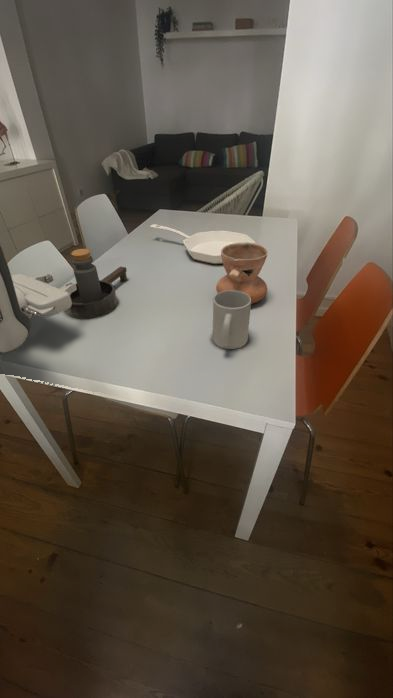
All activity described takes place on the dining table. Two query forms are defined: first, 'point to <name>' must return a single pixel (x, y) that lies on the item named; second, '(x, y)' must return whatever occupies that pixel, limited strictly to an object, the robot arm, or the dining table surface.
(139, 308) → the dining table surface
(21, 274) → the robot arm
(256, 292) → the ceramic jug
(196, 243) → the pan
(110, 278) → the dark brown rectangular block
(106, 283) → the dark low round container
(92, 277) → the bottle
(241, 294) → the mug
